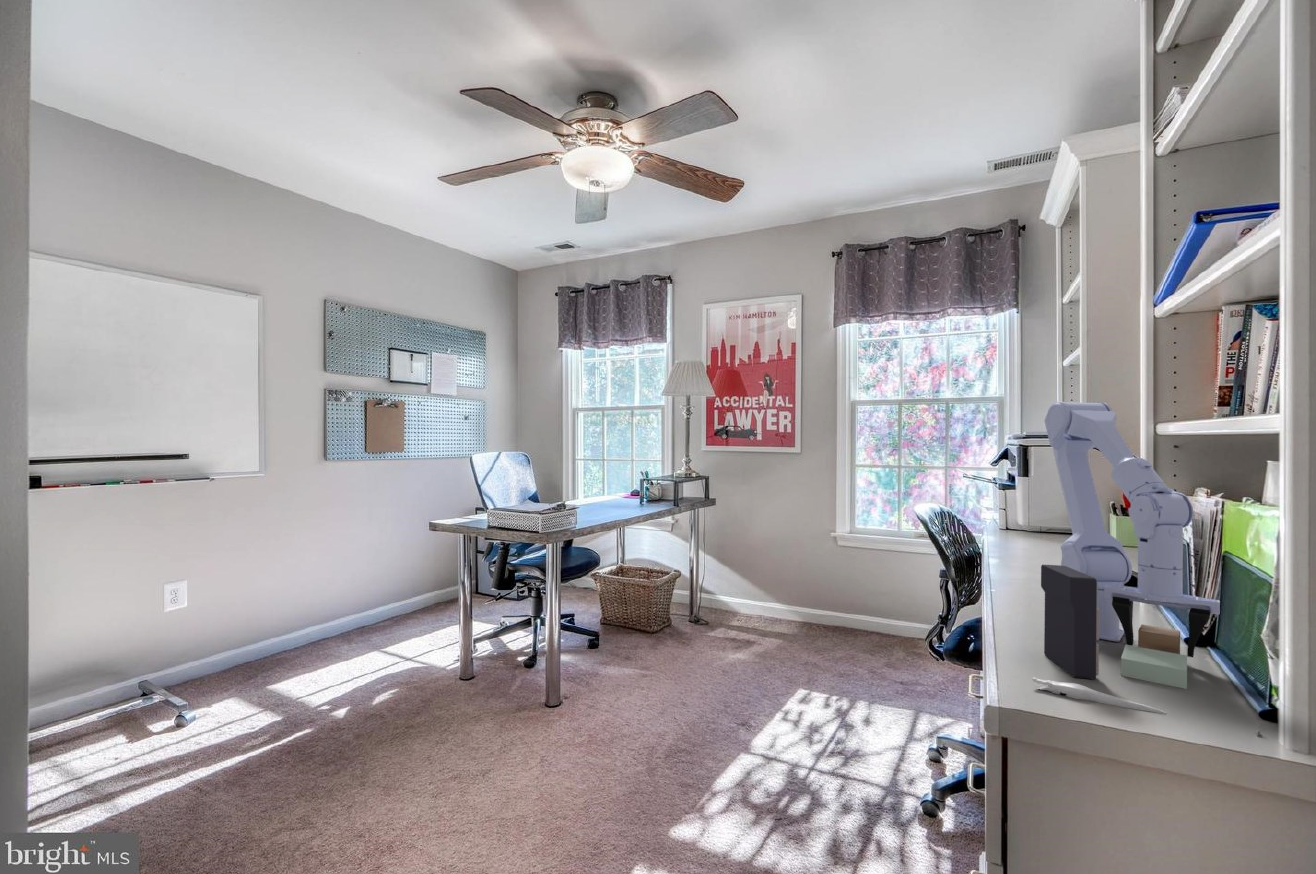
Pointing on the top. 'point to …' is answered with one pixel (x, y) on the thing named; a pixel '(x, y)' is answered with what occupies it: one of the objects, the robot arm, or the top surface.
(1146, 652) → the block
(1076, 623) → the calculator
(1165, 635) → the walnut cube
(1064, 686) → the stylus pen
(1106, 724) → the top surface
